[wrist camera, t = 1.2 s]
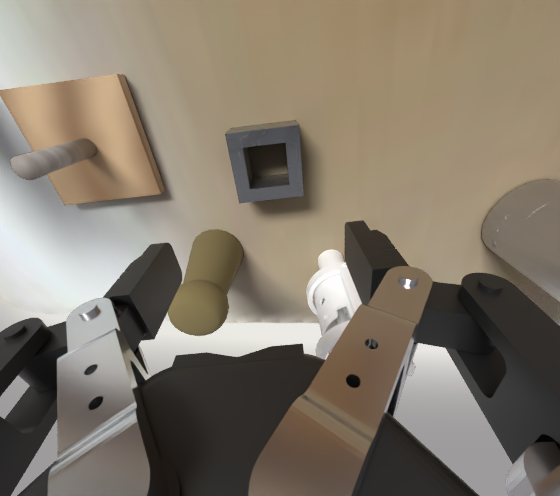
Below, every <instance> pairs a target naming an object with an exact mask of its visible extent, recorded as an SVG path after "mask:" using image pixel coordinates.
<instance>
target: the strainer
mask: <svg viewBox="0 0 560 496" xmlns="http://www.w3.org/2000/svg"><path fill="white" fill-rule="evenodd" d="M318 265H319V268H320V270H319V271H318V272H316V273H315V274H314V275H313V276H312V278H311V279H310V281H309V283H308V285H307V290H306V293H307V300H308V305H309V307H310V309H311V310H312V312H313V313H314V314H316V315H317V316H318V318H319V323H320V328H321V334H322V337H321V338H320V340H319V342H318V344H317V347H316V356H317V357H319V358H322V359H324V360H325V357H326V355H327V353H329V354H330V352H331V351H332V349H333V347H334V346H335V344H336V343H337V341H338V339H339V338H340V336H341V334H342V333H343V331H344V330H345V328H346V326H347V325H348V323H349V322H350V320H351V318H352V317H353V315H354V313H355V312H356V310H357V309H358V307H359V306H360V305H361V304H362V302H361V300H360V297H359V295H358V292H357V290H356V287H355V285H354V282H353V280H352V278H351V275H350V273H349V270H348V268H347V265H346V262H344V260H343V257H342V254H341V253H340V252H339V251H337V250H327V251H324V252H323V253H321V254H320V256H319V258H318ZM313 293H314V297H315V302H314V300H313V298H312V297H313ZM322 300H325V301H324V302H322ZM414 370H415V365H414V363H413V361H412V362H411V365H410V368H409V371H408V374H407V376H412V375H413V373H414Z"/></svg>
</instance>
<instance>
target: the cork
mask: <svg viewBox="0 0 560 496" xmlns="http://www.w3.org/2000/svg"><path fill="white" fill-rule="evenodd" d="M242 258H243V248H242V246H241V244H240V242H239V240H238V239H237V238H236V237H235V236H234V235H232V234H230V233H228V232H226V231H222V230H208V231H205V232H202V233H201V234H200V235H198V236H197V237H196V239H195V240H194V242H193V245H192V249H191V253H190V257H189V262H188V266H187V270H186V274H185V278H184V282H183V284H181V285H180V286H179V288H178V291H177V293H176V295H175V297H174V299H173V301H172V303H171V305H170V307H169V309H168V315H169V318H170V321H171V323H172V324H173V325H174V326H175V327H176V328H177V329H178V330H180V331H181V332H184V333H186V334H189V335H195V336H202V335H207V334H210V333H213V332H214V331H216V330H217V329H219V328H220V327H221V326H222V324H223V323H224V322H225V320H226V318H227V314H228V309H229V305H228V299H227V293H228V291H229V289H230V286H231V284H232V282H233V280H234V277H235V275H236V273H237V270H238V268H239V266H240V263H241V261H242Z"/></svg>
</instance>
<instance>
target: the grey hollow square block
mask: <svg viewBox="0 0 560 496" xmlns="http://www.w3.org/2000/svg"><path fill="white" fill-rule="evenodd" d="M225 136H226V141H227V146H228V150H229V155H230V160H231V165H232V170H233V175H234V180H235V184H236V189H237V194H238V199H239V203H246V202H255V201H264V200H273V199H282V198H291V197H299V196H304V193H303V178H302V162H301V147H300V132H299V124H298V123H297V121H296V120H293V121H285V122H277V123H269V124H261V125H253V126H245V127H237V128H231V129H230V130H229V131H228V132H227V133H226V134H225ZM277 143H285V150H286V160H287V171H288V174H282V175H273V176H265V177H256V178H253V177H252V171H251V165H250V159H249V153H248V147H253V146H261V145H269V144H277Z"/></svg>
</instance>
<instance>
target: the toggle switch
mask: <svg viewBox="0 0 560 496" xmlns="http://www.w3.org/2000/svg"><path fill="white" fill-rule="evenodd" d="M0 96H1V98H2V99H3V101H4V103H5V104H6V106H7V108H8V110H9V111H10V113H11V115H12V116H13V118H14V120H15V122H16V123H17V125H18V127H19V128H20V130H21V132H22V133H23V135H24V137H25V139H26V140H27V142H28V144H29V145H30V147H31V149H32V150H33V152H29V153H26V154H22V155H18V156H15V157H13V158H12V159H11V167H12V169H13V170H14V172H15V173H16V174H17V175H19V176H20V177H22V178H24V179H27V180H33V179H36V178H38V177H41V176H44V175H46V174H47V176H48V178H49V179H50V181H51V183H52V185H53V186H54V188H55V190H56V191H57V193H58V195H59V196H60V198H61V200H62V202H63V203H64V205H71V204H80V203H88V202H97V201H106V200H114V199H123V198H131V197H140V196H149V195H157V194H162V193H163V192H164V191H165V188H164V185H163V183H162V180H161V177H160V174H159V171H158V169H157V166H156V163H155V160H154V157H153V155H152V152H151V149H150V146H149V143H148V141H147V138H146V135H145V132H144V129H143V127H142V124H141V121H140V118H139V115H138V113H137V110H136V107H135V104H134V101H133V98H132V96H131V93H130V90H129V87H128V84H127V82H126V79H125V76H124V75H119V74H115V75H108V76H100V77H93V78H86V79H78V80H71V81H64V82H56V83H49V84H42V85H34V86H27V87H19V88H12V89H5V90H0Z"/></svg>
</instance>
